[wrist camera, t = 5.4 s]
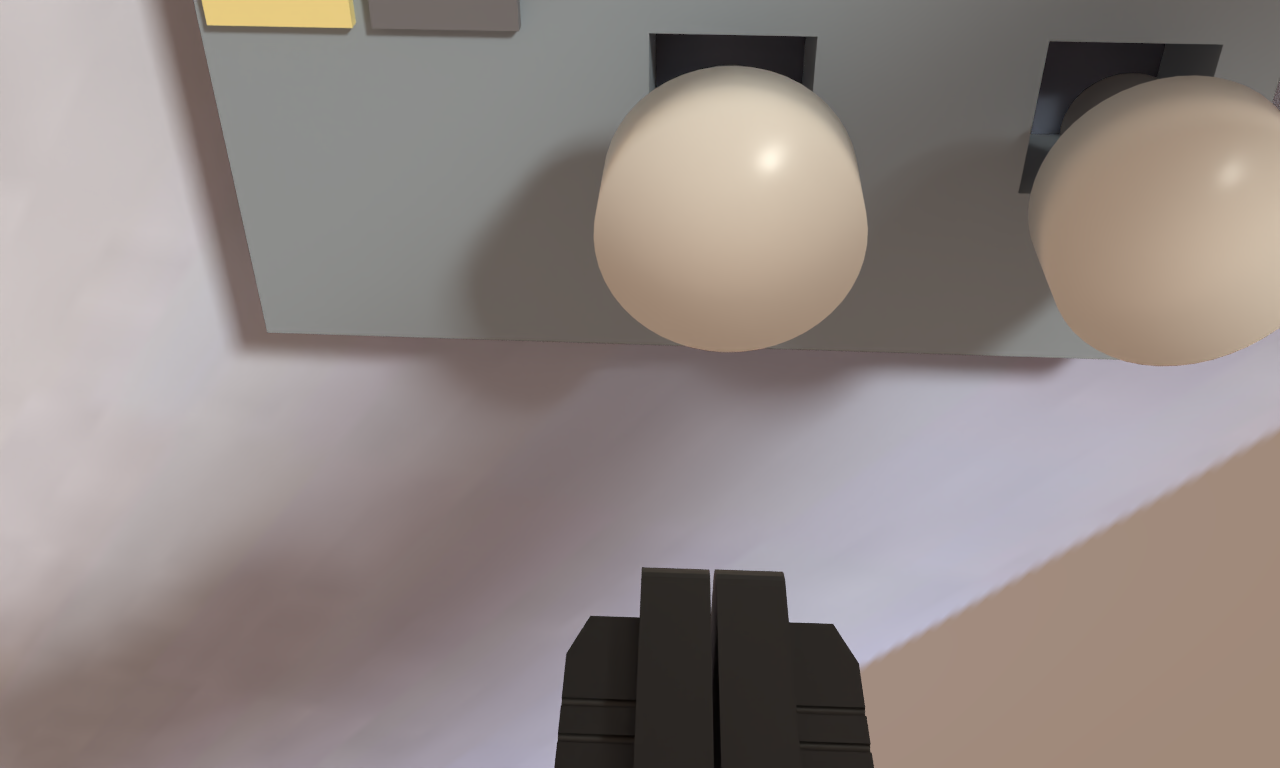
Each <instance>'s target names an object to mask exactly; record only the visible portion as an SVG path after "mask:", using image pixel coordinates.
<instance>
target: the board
mask: <svg viewBox="0 0 1280 768" xmlns="http://www.w3.org/2000/svg"><path fill="white" fill-rule="evenodd" d="M193 1H194V5H195V10H196V14H197V19H198V23H199V28H200V32H201V37H202V41H203V46H204V50H205V55H206V59H207V64H208V68H209V73H210V77H211V82H212V86H213V91H214V95H215V100H216V104H217V109H218V113H219V118H220V122H221V127H222V131H223V136H224V140H225V145H226V149H227V154H228V158H229V163H230V167H231V172H232V176H233V181H234V185H235V190H236V194H237V198H238V203H239V207H240V212H241V216H242V221H243V225H244V230H245V234H246V239H247V243H248V248H249V252H250V257H251V261H252V266H253V270H254V275H255V279H256V284H257V288H258V293H259V297H260V302H261V306H262V311H263V315H264V320H265V324H266V329H267V333H295V334H326V335H358V336H389V337H421V338H452V339H483V340H515V341H546V342H577V343H609V344H640V345H672V346H685V345H681V344H678V343H675V342H673V341H671V340H668V339H666V338H664V337H662V336H660V335H658V334H656V333H654V332H653V331H651V330H649V329H648V328H646V327H645V326H643V325H642V324H641V323H639V322H638V321H637V320H635V319H634V318H633V317H632V316H631V315H630V314H629V313H628V312H627V311H626V310H625V309H624V308H623V307H622V306H621V305H620V303H619V302H618V301H617V300H616V298H615V297H614V296H613V294H612V293H611V291H610V289H609V288H608V286H607V284H606V283H605V281H604V278H603V276H602V274H601V271H600V269H599V266H598V262H597V258H596V254H595V247H594V220H595V214H596V209H597V203H598V198H599V192H600V186H601V181H602V175H603V170H604V164H605V159H606V154H607V151H608V149H609V146H610V143H611V140H612V138H613V136H614V134H615V132H616V130H617V129H618V127H619V125H620V124H621V122H622V121H623V119H624V118H625V117H626V115H627V114H628V113H629V111H630V110H631V109H632V108H633V107H634V106H635V105H636V104H637V103H638V102H639V101H640V100H641V99H643V98H644V97H645V96H646V95H648V94H649V93H650V92H651V91H652V90H654V89H655V81H656V33H660V34H711V35H762V36H806V40H805V52H804V64H803V77H802V85H804V86H805V87H806V88H808V89H809V90H811V91H812V92H814V93H815V94H816V95H818V96H819V97H820V98H821V99H822V100H823V101H824V102H825V103H826V104H827V105H828V106H829V107H830V108H831V109H832V110H833V112H834V113H835V114H836V115H837V116H838V118H839V119H840V121H841V123H842V124H843V126H844V128H845V129H846V131H847V133H848V135H849V138H850V140H851V143H852V145H853V148H854V152H855V156H856V160H857V165H858V171H859V176H860V182H861V187H862V193H863V198H864V204H865V209H866V216H867V225H868V236H867V247H866V252H865V257H864V261H863V264H862V267H861V270H860V272H859V275H858V277H857V279H856V281H855V283H854V284H853V286H852V288H851V290H850V291H849V293H848V294H847V295H846V297H845V298H844V300H843V301H842V302H841V303H840V304H839V305H838V306H837V307H836V309H835V310H834V311H833V312H832V313H831V314H830V315H828V316H827V317H826V318H825V319H824V320H822V321H821V322H820V323H819V324H817V325H816V326H814V327H813V328H811V329H810V330H808V331H807V332H805V333H803V334H801V335H799V336H797V337H795V338H793V339H791V340H789V341H786V342H783V343H780V344H777V345H775V346H771V347H767V348H766V349H797V350H828V351H860V352H891V353H923V354H954V355H985V356H1017V357H1048V358H1080V359H1111V360H1120V359H1117V358H1114V357H1111V356H1109V355H1106V354H1104V353H1102V352H1100V351H1098V350H1096V349H1095V348H1093V347H1092V346H1090V345H1089V344H1087V343H1086V342H1084V341H1083V340H1082V339H1081V338H1080V337H1079V336H1078V335H1076V334H1075V333H1074V332H1073V331H1072V329H1071V328H1070V327H1069V326H1068V324H1067V323H1066V322H1065V321H1064V319H1063V317H1062V315H1061V313H1060V312H1059V310H1058V308H1057V305H1056V303H1055V300H1054V298H1053V295H1052V293H1051V290H1050V287H1049V285H1048V282H1047V280H1046V277H1045V275H1044V272H1043V269H1042V267H1041V264H1040V262H1039V259H1038V257H1037V254H1036V251H1035V249H1034V246H1033V243H1032V240H1031V236H1030V231H1029V225H1028V207H1029V200H1030V194H1031V190H1032V187H1033V183H1034V180H1035V178H1036V175H1037V173H1038V171H1039V168H1040V166H1041V164H1042V162H1043V161H1044V159H1045V157H1046V156H1047V154H1048V152H1049V151H1050V149H1051V148H1052V147H1053V145H1054V144H1055V143H1056V142H1057V140H1058V139H1059V138H1060V135H1056V134H1031V129H1032V124H1033V119H1034V114H1035V109H1036V104H1037V99H1038V95H1039V90H1040V85H1041V80H1042V75H1043V70H1044V65H1045V60H1046V55H1047V51H1048V46H1049V41H1066V42H1116V43H1166V44H1165V48H1164V52H1163V56H1162V59H1161V63H1160V67H1159V71H1158V75H1157V78H1158V79H1162V78H1168V77H1175V76H1192V75H1198V76H1210V77H1217V78H1222V79H1226V80H1231V81H1234V82H1236V83H1239V84H1242V85H1244V86H1247V87H1249V88H1251V89H1252V90H1254V91H1256V92H1258V93H1260V94H1261V95H1262V96H1264V97H1265V98H1266V99H1268V100H1269V101H1270V102H1271V103H1272V101H1273V98H1274V95H1275V92H1276V89H1277V86H1278V83H1279V80H1280V0H193Z"/></svg>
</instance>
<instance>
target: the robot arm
mask: <svg viewBox="0 0 1280 768" xmlns="http://www.w3.org/2000/svg"><path fill="white" fill-rule="evenodd" d="M555 768H874V765H873V759H872V753H870V738H869V731H868V724H867V717H866V716H865V705H864V697H863V690H862V683H861V676H860V669H859V663H858V662H857V660H856V659H855V657H854V655H853V654H852V652H851V651H850V649H849V648H848V646H847V645H846V643H845V642H844V640H843V639H842V637H841V636H840V634H839V632H838V631H837V629H836V628H835V626H834V625H833V624H819V623H790V622H789V619H788V608H787V597H786V586H785V578H784V574H783V572H772V571H743V570H715V571H714V580H713V593H712V607H711V600H710V571H709V570H703V569H674V568H644V567H642V578H641V601H640V618H635V617H607V616H590V617H589V619H588V621H587V622H586V624H585V625H584V627H583V628H582V630H581V631H580V633H579V635H578V636H577V638H576V639H575V641H574V642H573V644H572V646H571V647H570V649H569V650H568V652H567V653H566V663H565V672H564V682H563V691H562V706H561V710H560V720H559V730H558V742H557V749H556V758H555Z"/></svg>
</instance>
